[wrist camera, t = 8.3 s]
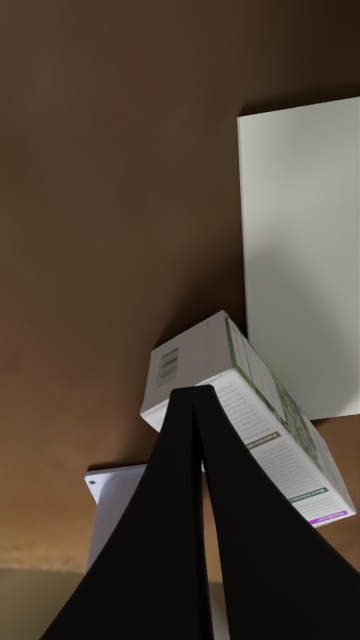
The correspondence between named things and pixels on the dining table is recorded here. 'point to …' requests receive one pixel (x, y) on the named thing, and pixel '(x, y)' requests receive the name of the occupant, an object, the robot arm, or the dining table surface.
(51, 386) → the dining table surface
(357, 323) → the mat
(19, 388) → the dining table surface
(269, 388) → the syrup box
